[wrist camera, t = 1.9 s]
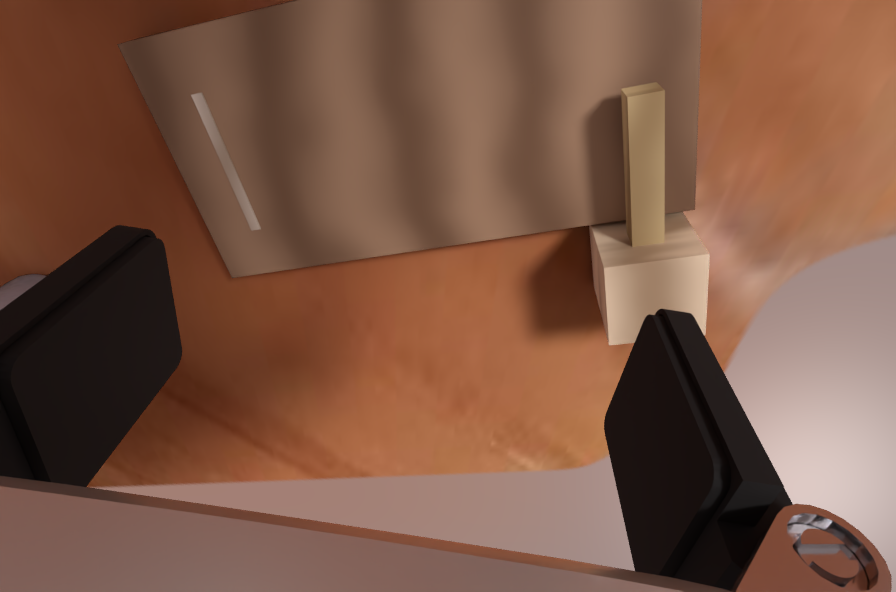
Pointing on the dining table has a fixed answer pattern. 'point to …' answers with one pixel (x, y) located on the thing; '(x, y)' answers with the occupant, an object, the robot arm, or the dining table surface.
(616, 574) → the robot arm
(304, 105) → the board
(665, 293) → the mallet
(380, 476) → the dining table surface
